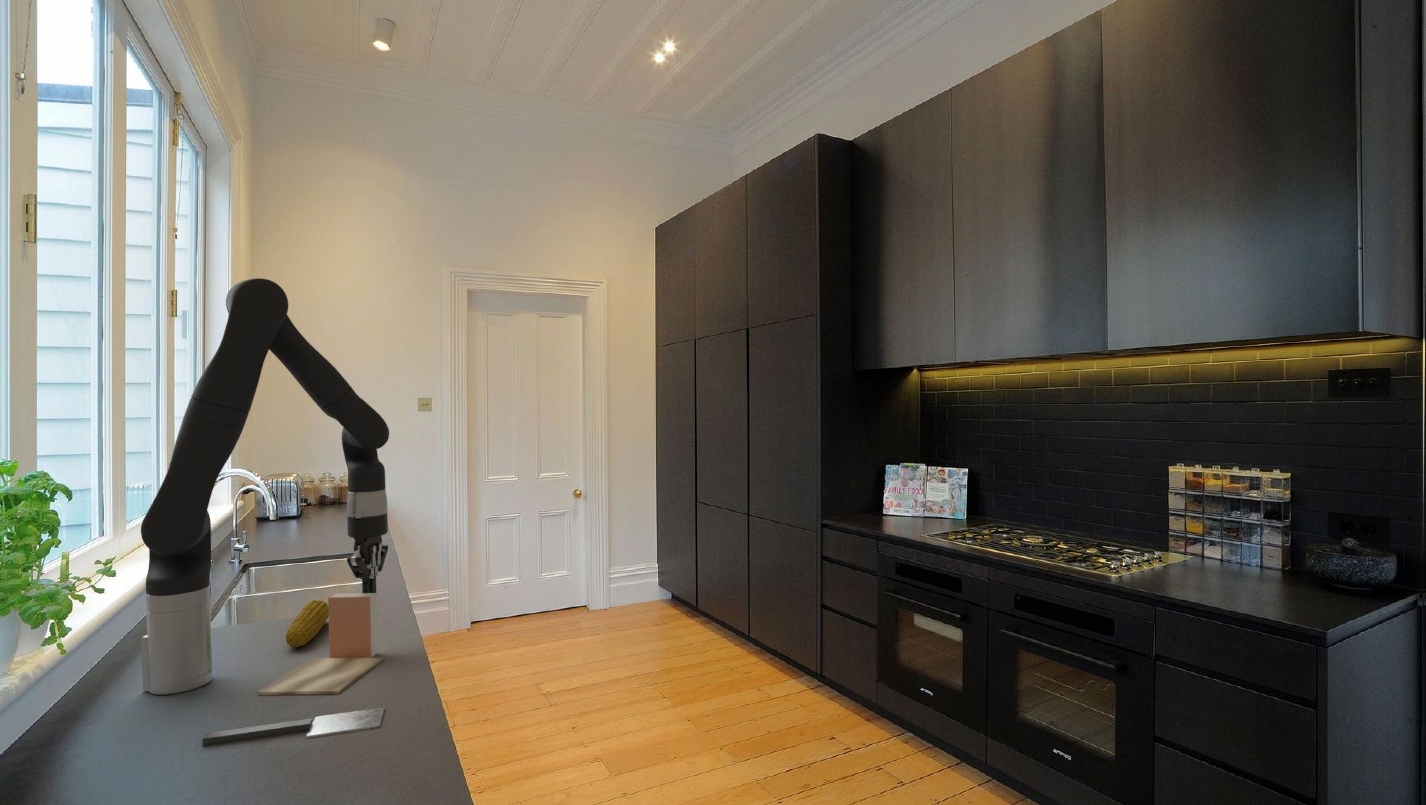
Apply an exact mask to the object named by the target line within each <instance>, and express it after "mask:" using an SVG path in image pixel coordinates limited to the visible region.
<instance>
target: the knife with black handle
mask: <svg viewBox="0 0 1426 805" xmlns="http://www.w3.org/2000/svg"><path fill="white" fill-rule="evenodd" d="M384 712H385V706H383V707H377V708H368V709H367V708H366V709H363V710H355V711H349V712H348V711H347V712H340V713H333V714H326V715H318V716H315V717H314V719H313V718H305V719H297V720H291V721H290V720H289V721H282V722H275V723H270V724H263V725H262V724H261V725H256V726H255V725H254V726H248V727H240V728H234V729H227V730H219V731H213V732H207V733H206V734H205V735H204V736H203V738H202V748H204V747H205V748H206V747H209V746H210V747H211V746H216V745H224V744H230V743H238V742H245V741H251V740H258V739H260V740H261V739H265V738H271V737H280V736H285V735H287V736H288V735H293V734H298V733H299V734H300V733H306V732H307V733H306V735H305V736H306V737H305V738H306V739H310V738H312V739H313V738H317V737H323V736H331V735H332V736H333V735H337V734H345V733H350V732H351V733H353V732H359V731H366V730H371V729H370V728H373V729H378V728H377V727H379V728H380V727H381V724H382V719H383V717H382V716H384Z"/></svg>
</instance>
